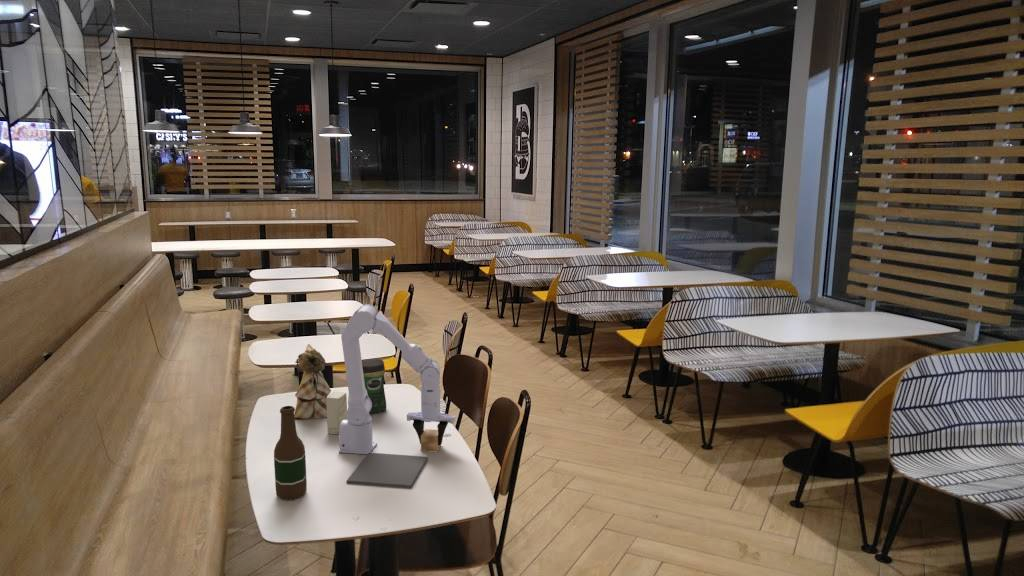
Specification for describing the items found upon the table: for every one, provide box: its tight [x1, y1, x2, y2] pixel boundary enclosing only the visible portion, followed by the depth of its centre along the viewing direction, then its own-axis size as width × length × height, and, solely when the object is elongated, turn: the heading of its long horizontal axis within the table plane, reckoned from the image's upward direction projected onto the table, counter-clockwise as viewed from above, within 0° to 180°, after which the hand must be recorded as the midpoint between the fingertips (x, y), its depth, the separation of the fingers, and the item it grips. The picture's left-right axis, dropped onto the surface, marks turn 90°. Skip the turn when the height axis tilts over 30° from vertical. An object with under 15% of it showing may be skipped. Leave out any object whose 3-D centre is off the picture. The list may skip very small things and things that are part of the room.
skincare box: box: [326, 391, 348, 435], centre depth 219 cm, size 6×4×12 cm
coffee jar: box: [362, 357, 387, 415], centre depth 237 cm, size 10×8×19 cm
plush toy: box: [294, 343, 332, 420], centre depth 232 cm, size 14×14×25 cm
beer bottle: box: [273, 405, 308, 501], centre depth 177 cm, size 8×8×24 cm
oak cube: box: [420, 428, 441, 452], centre depth 208 cm, size 5×5×5 cm
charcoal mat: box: [346, 452, 429, 489], centre depth 193 cm, size 18×18×1 cm
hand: (431, 443), depth 208 cm, fingers open, 5 cm apart
